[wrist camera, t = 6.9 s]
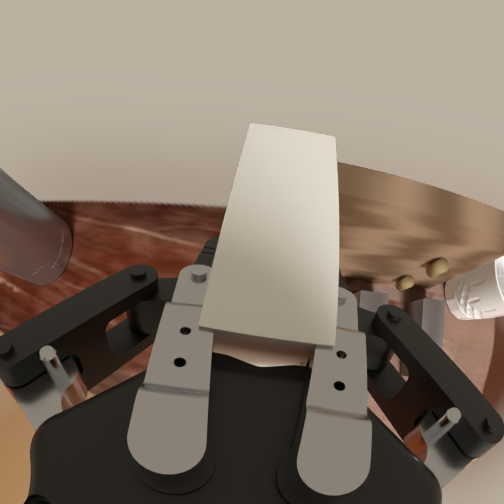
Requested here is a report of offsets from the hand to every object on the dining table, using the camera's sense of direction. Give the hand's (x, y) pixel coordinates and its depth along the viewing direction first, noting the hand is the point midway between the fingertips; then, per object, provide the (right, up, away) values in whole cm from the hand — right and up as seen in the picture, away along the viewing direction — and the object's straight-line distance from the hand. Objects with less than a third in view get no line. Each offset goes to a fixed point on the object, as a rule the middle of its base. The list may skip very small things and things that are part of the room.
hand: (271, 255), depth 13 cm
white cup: (+25, -5, +16) cm, 30 cm away
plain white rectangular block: (0, -4, +5) cm, 7 cm away
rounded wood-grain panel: (+10, -7, +15) cm, 19 cm away
